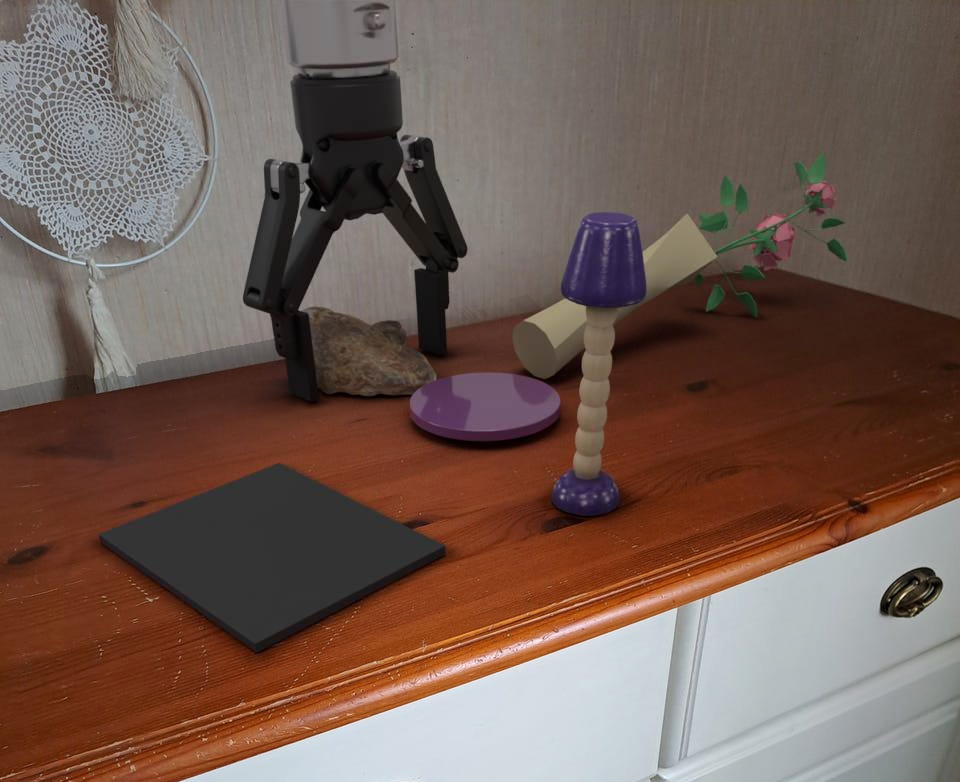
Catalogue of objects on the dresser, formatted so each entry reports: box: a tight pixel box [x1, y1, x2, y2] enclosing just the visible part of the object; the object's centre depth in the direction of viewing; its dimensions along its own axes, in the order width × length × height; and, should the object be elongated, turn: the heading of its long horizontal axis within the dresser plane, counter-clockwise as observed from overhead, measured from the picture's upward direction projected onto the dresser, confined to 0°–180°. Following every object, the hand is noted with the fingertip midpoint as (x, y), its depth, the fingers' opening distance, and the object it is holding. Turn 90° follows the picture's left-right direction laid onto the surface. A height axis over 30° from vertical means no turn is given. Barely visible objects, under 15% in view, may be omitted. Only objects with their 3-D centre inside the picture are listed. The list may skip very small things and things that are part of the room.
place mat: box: [98, 462, 447, 653], centre depth 56 cm, size 16×13×1 cm
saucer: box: [409, 372, 562, 442], centre depth 71 cm, size 11×11×1 cm
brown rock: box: [301, 305, 437, 397], centre depth 77 cm, size 10×12×5 cm
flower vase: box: [511, 152, 849, 380], centre depth 84 cm, size 12×12×35 cm
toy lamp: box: [550, 211, 646, 517], centre depth 55 cm, size 5×5×17 cm
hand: (371, 373), depth 79 cm, fingers open, 13 cm apart
